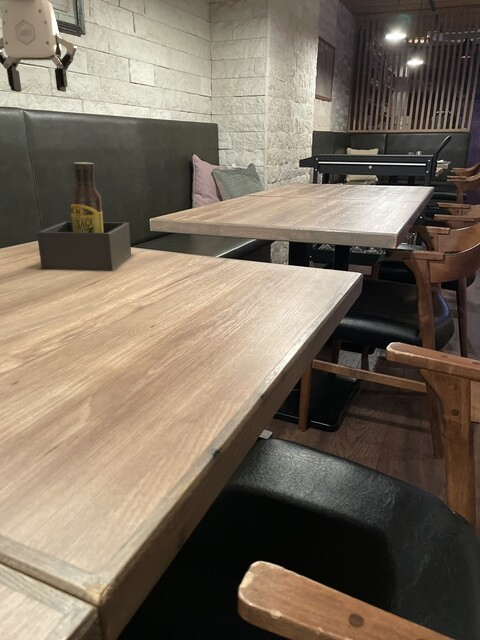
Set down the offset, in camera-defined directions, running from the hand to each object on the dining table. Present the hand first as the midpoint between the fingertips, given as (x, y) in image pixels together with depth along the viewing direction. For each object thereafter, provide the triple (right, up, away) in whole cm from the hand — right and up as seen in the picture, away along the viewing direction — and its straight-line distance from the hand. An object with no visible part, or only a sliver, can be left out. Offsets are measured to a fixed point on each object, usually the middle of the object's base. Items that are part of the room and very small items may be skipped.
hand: (39, 91), depth 102 cm
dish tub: (+9, -35, +4) cm, 37 cm away
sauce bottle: (+10, -35, +4) cm, 36 cm away
